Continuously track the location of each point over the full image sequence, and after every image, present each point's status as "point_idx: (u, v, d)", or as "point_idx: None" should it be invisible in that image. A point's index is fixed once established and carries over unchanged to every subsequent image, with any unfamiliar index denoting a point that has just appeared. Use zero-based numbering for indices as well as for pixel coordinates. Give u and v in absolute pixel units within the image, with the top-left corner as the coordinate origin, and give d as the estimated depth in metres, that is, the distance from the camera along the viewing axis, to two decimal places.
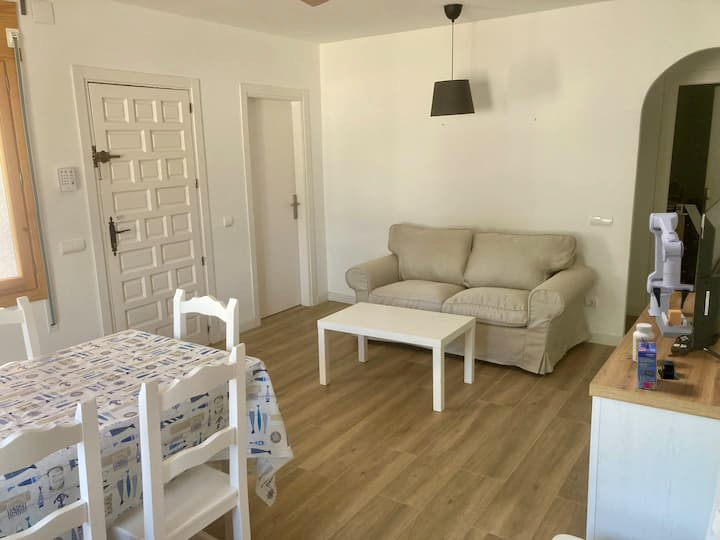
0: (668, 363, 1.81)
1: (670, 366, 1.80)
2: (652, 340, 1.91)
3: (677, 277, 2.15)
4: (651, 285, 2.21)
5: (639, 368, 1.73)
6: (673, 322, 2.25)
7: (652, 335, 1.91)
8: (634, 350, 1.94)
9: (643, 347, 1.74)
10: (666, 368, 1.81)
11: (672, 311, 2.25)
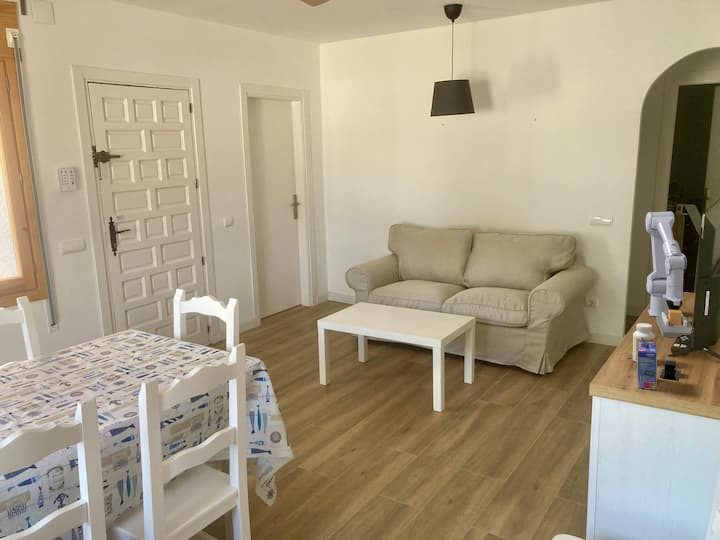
0: (670, 363, 1.81)
1: (671, 366, 1.80)
2: (652, 340, 1.91)
3: (670, 289, 2.26)
4: None
5: (639, 368, 1.73)
6: (673, 322, 2.25)
7: (652, 335, 1.91)
8: (634, 350, 1.94)
9: (643, 347, 1.74)
10: (666, 368, 1.81)
11: (672, 311, 2.25)
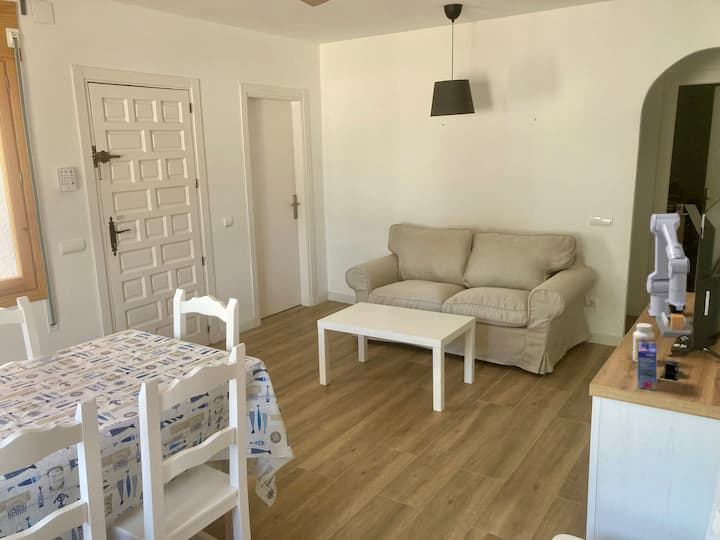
0: (670, 363, 1.81)
1: (671, 366, 1.80)
2: (652, 340, 1.91)
3: (672, 293, 2.19)
4: None
5: (639, 368, 1.73)
6: (675, 327, 2.19)
7: (652, 335, 1.91)
8: (634, 350, 1.94)
9: (643, 347, 1.74)
10: (667, 368, 1.81)
11: (674, 315, 2.19)
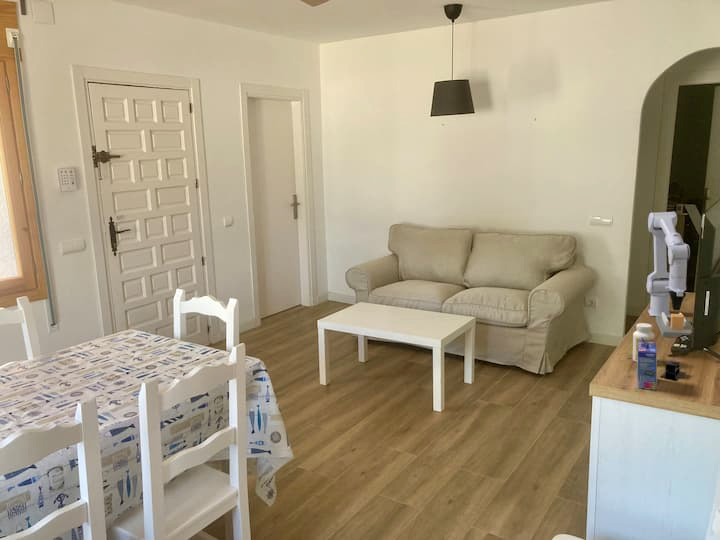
0: (671, 363, 1.81)
1: (671, 366, 1.80)
2: (652, 340, 1.91)
3: (672, 279, 2.19)
4: None
5: (639, 368, 1.73)
6: (675, 327, 2.19)
7: (652, 335, 1.91)
8: (634, 350, 1.94)
9: (643, 347, 1.74)
10: (667, 368, 1.81)
11: (674, 315, 2.20)
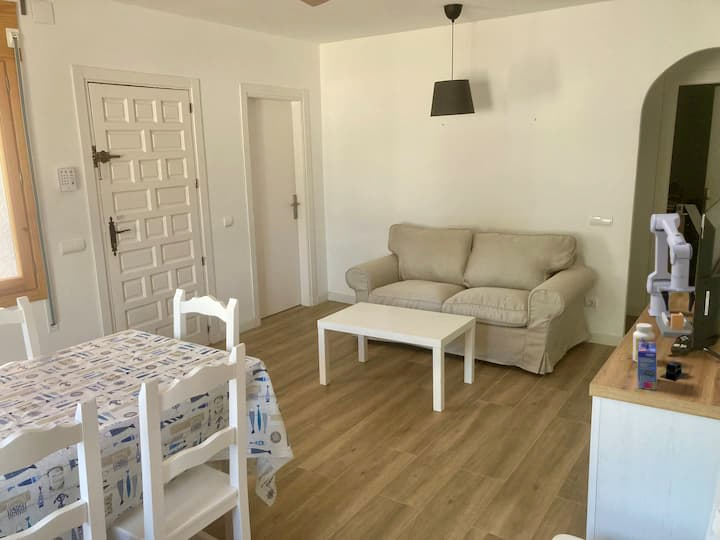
0: (672, 363, 1.81)
1: (672, 366, 1.80)
2: (652, 340, 1.91)
3: (686, 280, 2.13)
4: (659, 289, 2.18)
5: (639, 368, 1.73)
6: (675, 327, 2.19)
7: (652, 335, 1.91)
8: (634, 350, 1.94)
9: (643, 347, 1.74)
10: (668, 368, 1.81)
11: (674, 315, 2.20)
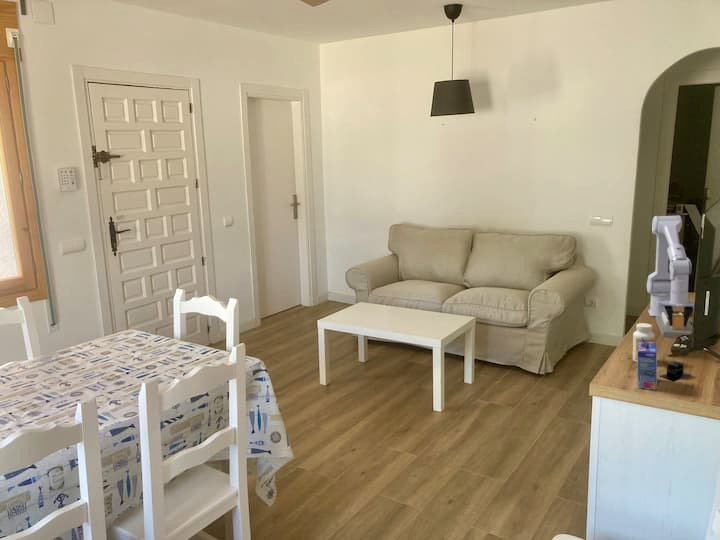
0: (673, 364, 1.81)
1: (672, 366, 1.80)
2: (652, 340, 1.91)
3: (686, 295, 2.14)
4: (659, 304, 2.19)
5: (639, 368, 1.73)
6: (675, 327, 2.19)
7: (652, 335, 1.91)
8: (634, 350, 1.94)
9: (643, 347, 1.74)
10: (668, 368, 1.81)
11: (674, 315, 2.20)
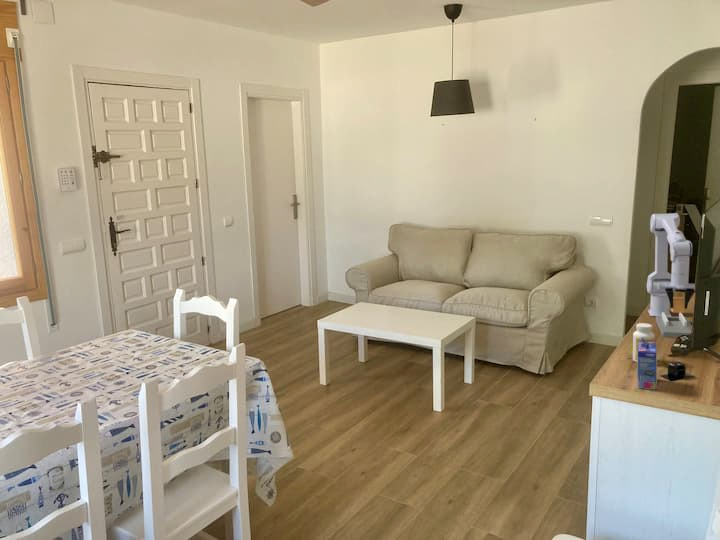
0: (674, 364, 1.80)
1: (673, 367, 1.80)
2: (652, 340, 1.91)
3: (687, 277, 2.13)
4: (660, 286, 2.18)
5: (639, 368, 1.73)
6: (676, 310, 2.18)
7: (652, 335, 1.91)
8: (634, 350, 1.94)
9: (643, 347, 1.74)
10: (669, 368, 1.81)
11: (675, 299, 2.18)
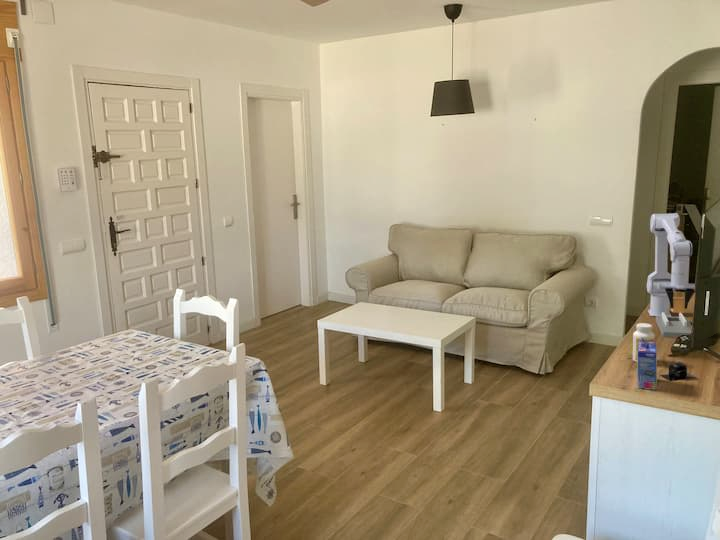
0: (675, 364, 1.80)
1: (673, 367, 1.80)
2: (652, 340, 1.91)
3: (687, 277, 2.13)
4: (660, 286, 2.18)
5: (639, 368, 1.73)
6: (676, 310, 2.18)
7: (652, 335, 1.91)
8: (634, 350, 1.94)
9: (643, 347, 1.74)
10: (670, 368, 1.81)
11: (675, 299, 2.18)
